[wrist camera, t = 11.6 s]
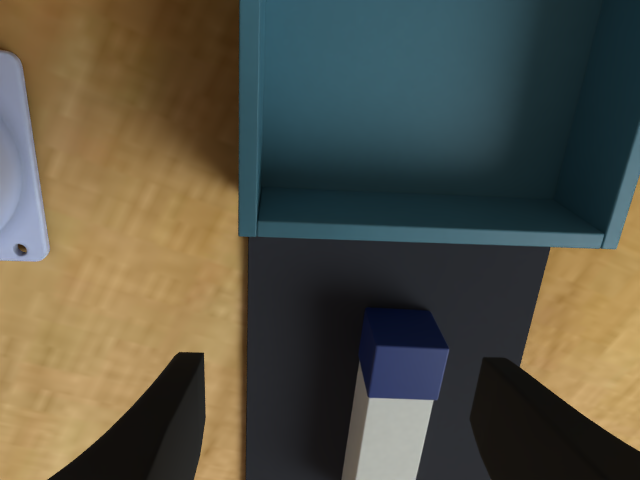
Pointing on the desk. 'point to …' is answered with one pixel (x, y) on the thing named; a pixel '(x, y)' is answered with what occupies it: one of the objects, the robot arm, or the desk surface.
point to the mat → (345, 334)
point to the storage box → (439, 120)
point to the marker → (393, 393)
